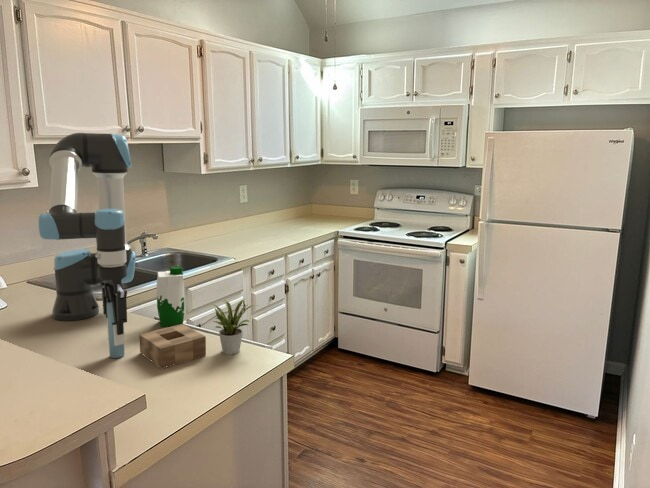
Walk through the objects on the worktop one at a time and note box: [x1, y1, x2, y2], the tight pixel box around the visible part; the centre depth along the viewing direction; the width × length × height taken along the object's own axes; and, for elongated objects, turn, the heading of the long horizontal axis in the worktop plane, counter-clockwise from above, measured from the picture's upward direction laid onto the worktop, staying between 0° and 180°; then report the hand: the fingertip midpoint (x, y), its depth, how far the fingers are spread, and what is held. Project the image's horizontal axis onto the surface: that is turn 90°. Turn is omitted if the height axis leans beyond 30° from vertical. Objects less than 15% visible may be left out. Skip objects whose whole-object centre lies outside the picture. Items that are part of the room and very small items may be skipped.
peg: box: [106, 302, 125, 359], centre depth 142 cm, size 4×4×16 cm
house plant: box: [212, 298, 259, 355], centre depth 149 cm, size 14×14×16 cm
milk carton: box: [156, 265, 185, 328], centre depth 170 cm, size 9×9×20 cm
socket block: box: [138, 323, 207, 369], centre depth 146 cm, size 14×14×6 cm
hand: (116, 341), depth 143 cm, fingers closed on peg, 4 cm apart
